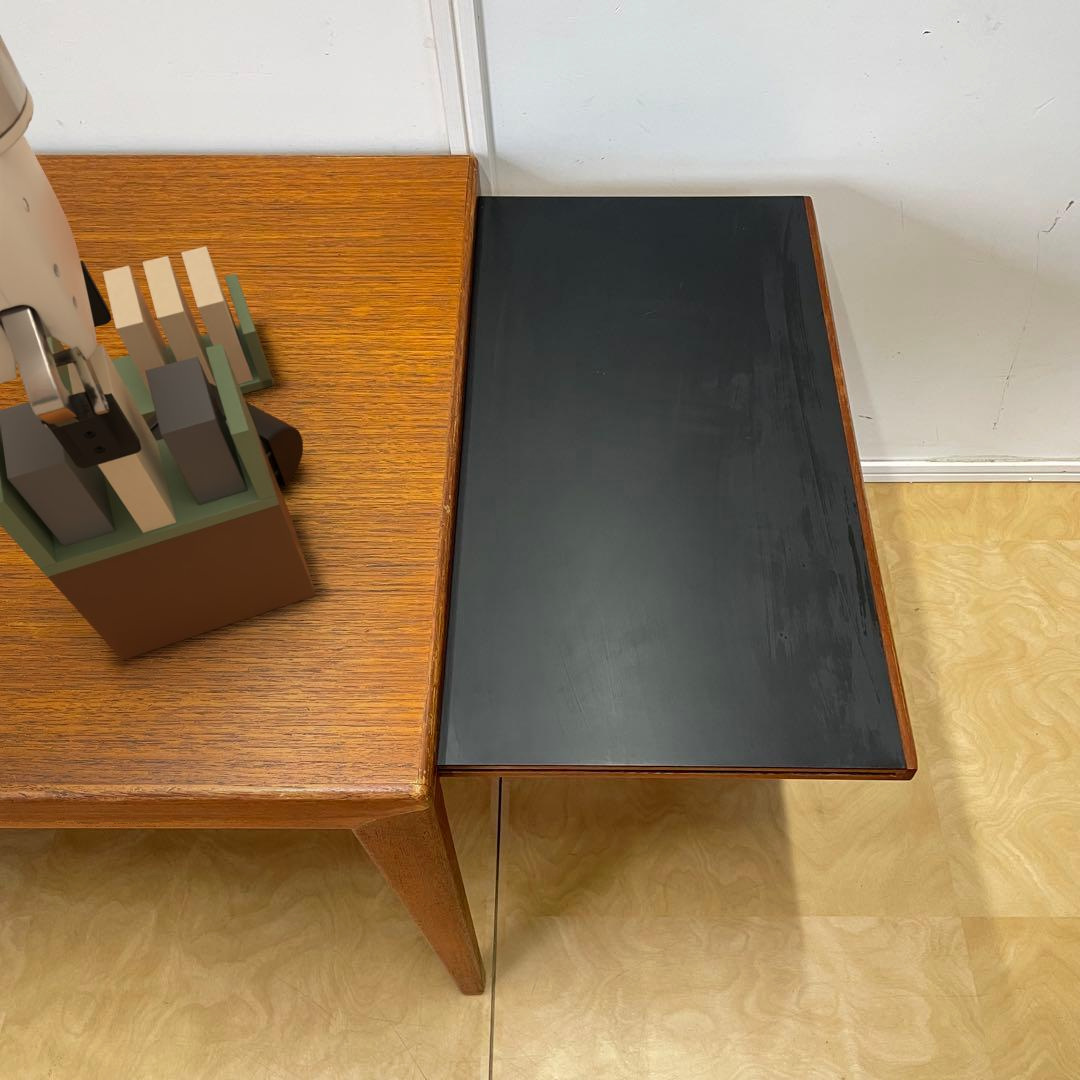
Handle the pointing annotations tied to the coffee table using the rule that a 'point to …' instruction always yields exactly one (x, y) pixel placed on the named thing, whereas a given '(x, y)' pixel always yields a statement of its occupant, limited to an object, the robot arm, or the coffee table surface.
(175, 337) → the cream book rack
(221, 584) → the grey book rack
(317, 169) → the coffee table surface
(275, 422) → the end cap
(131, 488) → the cream book
